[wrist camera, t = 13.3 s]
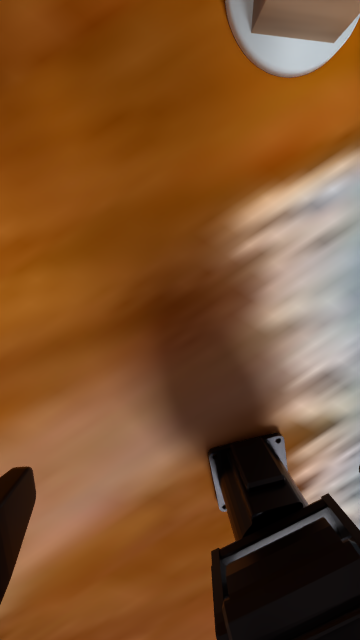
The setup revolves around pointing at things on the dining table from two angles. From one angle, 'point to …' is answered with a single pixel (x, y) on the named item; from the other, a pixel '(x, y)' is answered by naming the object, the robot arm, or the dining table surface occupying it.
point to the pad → (279, 45)
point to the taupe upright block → (304, 18)
